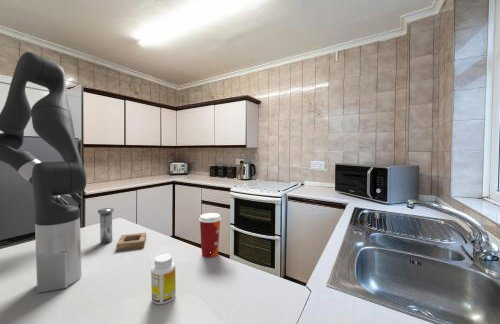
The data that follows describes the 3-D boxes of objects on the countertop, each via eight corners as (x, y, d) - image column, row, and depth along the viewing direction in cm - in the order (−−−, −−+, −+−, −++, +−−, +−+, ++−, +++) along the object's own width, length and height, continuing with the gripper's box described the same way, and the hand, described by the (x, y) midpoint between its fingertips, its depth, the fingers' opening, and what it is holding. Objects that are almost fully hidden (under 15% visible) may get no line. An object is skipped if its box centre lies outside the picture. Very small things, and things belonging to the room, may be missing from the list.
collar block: (144, 247, 81) (143, 240, 81) (116, 251, 78) (116, 244, 78) (146, 238, 90) (146, 232, 89) (121, 241, 86) (121, 235, 86)
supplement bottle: (177, 289, 57) (177, 251, 56) (172, 304, 51) (172, 262, 51) (155, 291, 56) (155, 252, 56) (147, 306, 50) (147, 263, 50)
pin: (112, 243, 84) (111, 210, 84) (96, 245, 82) (96, 212, 82) (115, 238, 89) (115, 207, 89) (100, 240, 87) (100, 208, 87)
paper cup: (223, 257, 74) (223, 217, 74) (200, 261, 72) (200, 219, 71) (218, 247, 82) (218, 211, 81) (197, 251, 79) (197, 213, 78)
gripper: (31, 169, 74) (70, 201, 76) (60, 166, 88) (92, 193, 90) (14, 184, 73) (53, 216, 76) (45, 179, 87) (78, 206, 90)
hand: (74, 203), depth 83 cm, fingers open, 8 cm apart
